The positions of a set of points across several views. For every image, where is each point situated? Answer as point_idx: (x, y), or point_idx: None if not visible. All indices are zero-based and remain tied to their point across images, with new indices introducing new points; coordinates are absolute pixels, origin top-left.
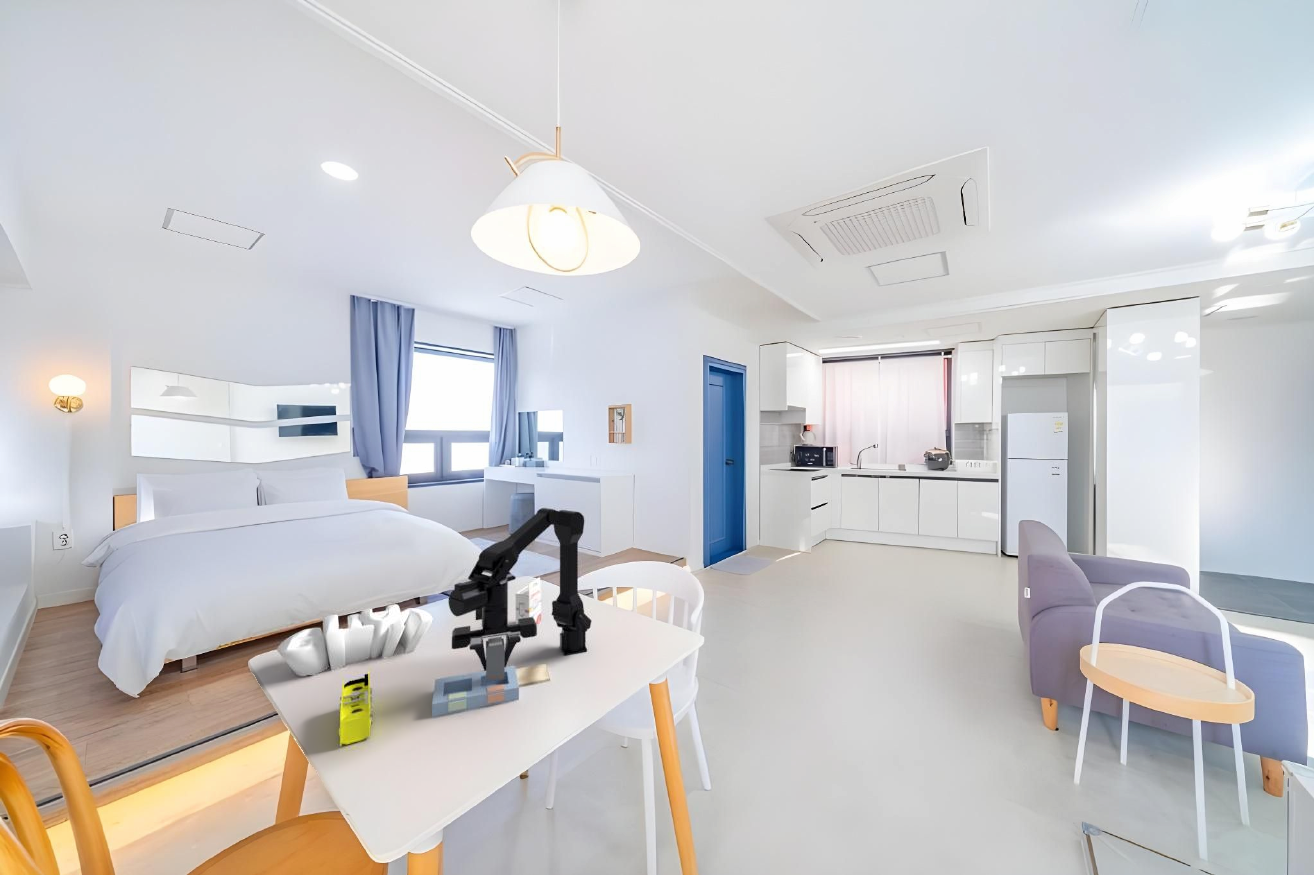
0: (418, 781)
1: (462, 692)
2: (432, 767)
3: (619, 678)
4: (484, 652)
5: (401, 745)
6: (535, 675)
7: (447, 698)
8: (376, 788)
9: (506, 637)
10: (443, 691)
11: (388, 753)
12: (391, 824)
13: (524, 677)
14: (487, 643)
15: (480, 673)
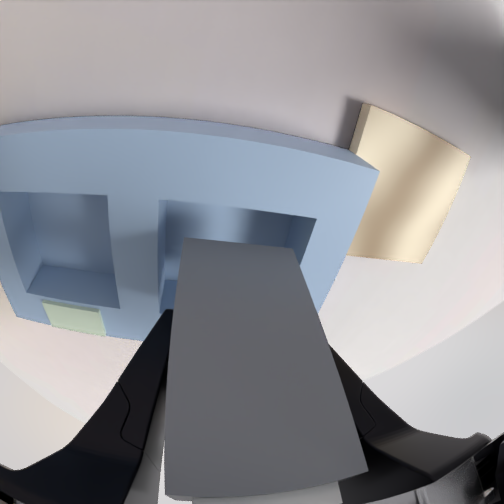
0: (87, 400)
1: (85, 313)
2: (96, 393)
3: (481, 301)
4: (158, 448)
5: (21, 336)
6: (408, 219)
7: (45, 313)
8: (41, 385)
9: (374, 485)
10: (14, 258)
11: (13, 342)
12: (86, 418)
13: (373, 211)
14: (184, 498)
15: (159, 161)
